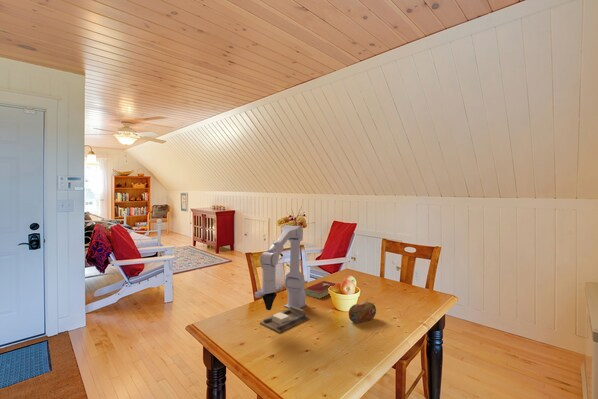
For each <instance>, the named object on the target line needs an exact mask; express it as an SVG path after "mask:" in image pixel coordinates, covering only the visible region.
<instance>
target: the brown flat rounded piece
mask: <svg viewBox="0 0 598 399" xmlns="http://www.w3.org/2000/svg"><path fill="white" fill-rule="evenodd" d="M376 312H377V308H376V305H375V304H374V303H372V302H370V301H365V302H361V303H356V304H353V305H351V306H350V308H349V310H348V318H349V320H350V321H351V322H353V323H354V324H355V325H357V324H361V323H366V322H369V321H372V320H373V319H374V317H375V316H376V314H377V313H376Z"/></svg>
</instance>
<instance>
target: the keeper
mask: <svg viewBox="0 0 598 399" xmlns="http://www.w3.org/2000/svg"><path fill="white" fill-rule="evenodd" d="M281 312H282V311H280V312H277V313H274V314H272V315H271V316H272V321H273V322H275V323H277V324H280V325H281V324H283V323H285V322H287V321H289V316H288V315H286V314H283V313H281Z"/></svg>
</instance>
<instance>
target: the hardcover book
mask: <svg viewBox="0 0 598 399" xmlns="http://www.w3.org/2000/svg"><path fill="white" fill-rule="evenodd" d="M335 284H337V283H335V282H331V281H326V280H322V281H320V282H319V281H318V282H317V283H315V284H312V285H309V286H307V287H304V290H305V296H308V297H311V298H315V299H318V298H319V300H320V298H321V299H322V297H323V298H325V297H326V295H327V296H328V294H329V293H328V288H329V287H330V286H334V285H335ZM329 295H330V294H329ZM324 296H325V297H324Z"/></svg>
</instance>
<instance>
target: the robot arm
mask: <svg viewBox="0 0 598 399" xmlns="http://www.w3.org/2000/svg"><path fill="white" fill-rule="evenodd" d="M280 230H281V231H280V234H279V237H278V239H277V240H276V241H273V242H272V244H271V245H270V246H269V247H268V249H267V250H266V251H264V252H262V253H261V255H260V259H259V261H260V262H259V263H260V264H261V269H262V280H261V281H262V284H261V285H262V287H261V289H259V290H257V291H255V292H254V298H256V299H259V298H260V297H261V298H262V300H263V302H264V306H265V310H267V311H271V310H272V308H273V304H274V300H275V299H276V297H277V294H278V293H276V292H277V291H282V290H283V285H281V284H277V285H276V266H277V264H278V262H279V259H280V256H281V253H282V252H283V250H284V245H285V244H286V243H287V242H290V256H289V272H287V273H286V274H285V277H284V278H285V279H284V287H285V288H286V291H287V304H284V307H285V308H287V309H290V306H295V307H297V308H300V309H302V308H303V307H305V306H307V304H306V295H305V290H304V289H305V288H306V287H305V286H306V279H305V275H304V274H303V273H302V272H301V271H300V258H301V257H300V252H301V250H300V248H301V241H303V239H304V238H303V237H304V236H303V234H304V230H303V228H302V226H301V225H288V224H287V225H286V224H284V225H282V227H281V229H280Z"/></svg>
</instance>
